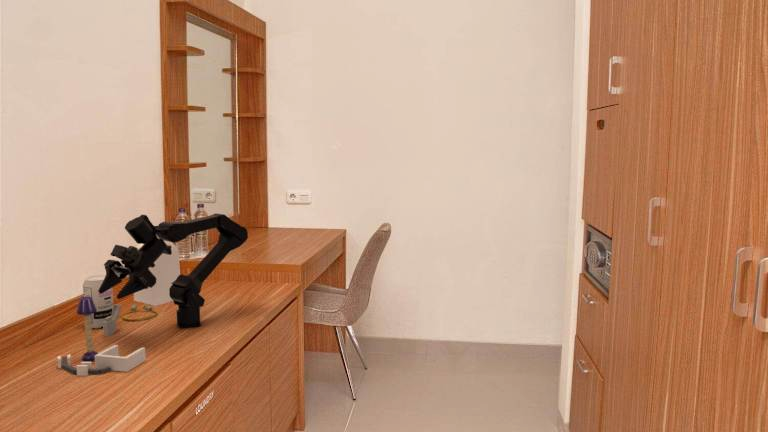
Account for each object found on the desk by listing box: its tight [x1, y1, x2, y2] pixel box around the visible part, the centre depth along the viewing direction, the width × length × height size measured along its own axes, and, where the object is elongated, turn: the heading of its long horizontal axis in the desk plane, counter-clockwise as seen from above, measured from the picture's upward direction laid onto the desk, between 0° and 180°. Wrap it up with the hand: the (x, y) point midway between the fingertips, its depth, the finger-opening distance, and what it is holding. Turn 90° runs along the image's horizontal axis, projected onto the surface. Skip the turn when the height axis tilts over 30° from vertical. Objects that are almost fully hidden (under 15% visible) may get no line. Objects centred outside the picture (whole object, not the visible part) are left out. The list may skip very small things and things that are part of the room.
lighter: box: [102, 303, 122, 337], centre depth 180 cm, size 7×2×8 cm, turn 171°
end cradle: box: [94, 344, 147, 373], centre depth 155 cm, size 8×9×4 cm
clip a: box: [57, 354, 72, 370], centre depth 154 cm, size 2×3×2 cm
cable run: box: [61, 355, 112, 375], centre depth 152 cm, size 6×17×1 cm, turn 64°
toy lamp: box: [76, 296, 99, 362], centre depth 158 cm, size 5×5×17 cm
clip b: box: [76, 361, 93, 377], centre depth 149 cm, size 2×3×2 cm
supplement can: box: [82, 275, 114, 329], centre depth 186 cm, size 8×8×15 cm
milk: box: [133, 235, 181, 307], centre depth 215 cm, size 12×12×26 cm
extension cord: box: [120, 303, 159, 322], centre depth 199 cm, size 12×16×2 cm
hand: (108, 295), depth 166 cm, fingers open, 9 cm apart
